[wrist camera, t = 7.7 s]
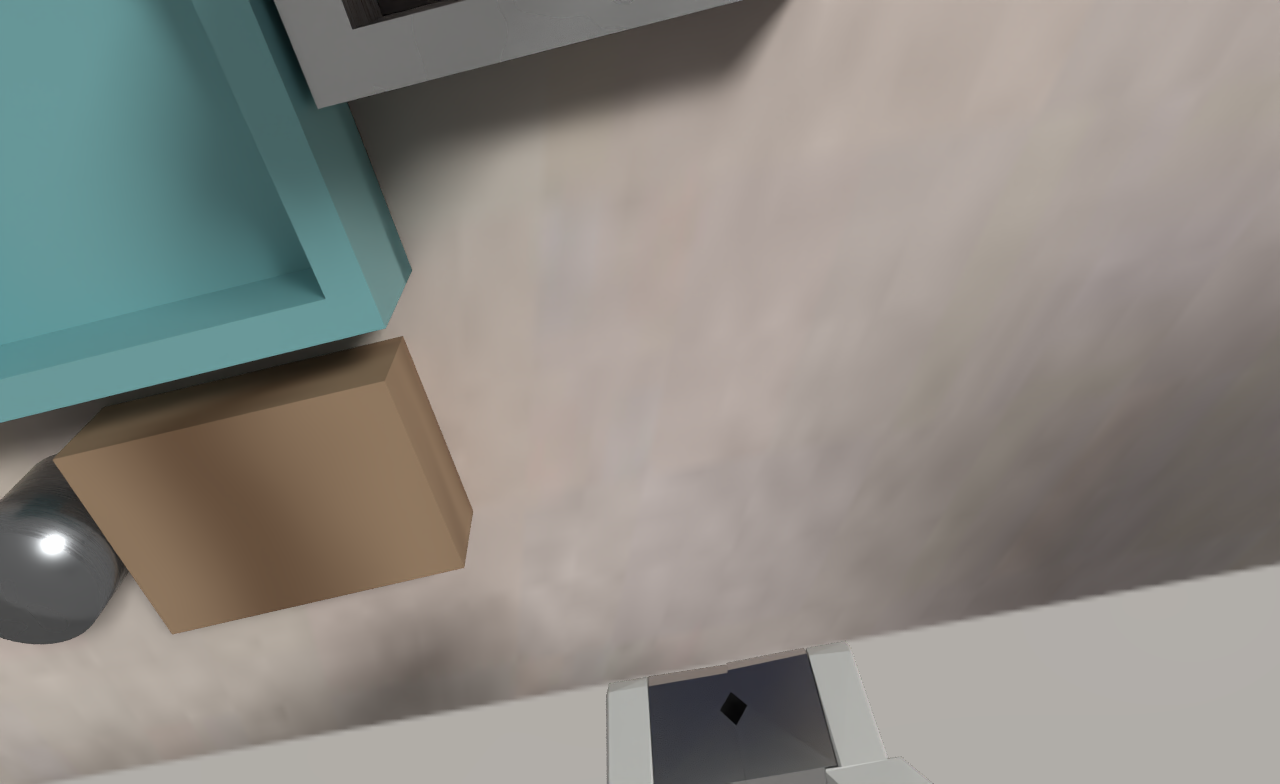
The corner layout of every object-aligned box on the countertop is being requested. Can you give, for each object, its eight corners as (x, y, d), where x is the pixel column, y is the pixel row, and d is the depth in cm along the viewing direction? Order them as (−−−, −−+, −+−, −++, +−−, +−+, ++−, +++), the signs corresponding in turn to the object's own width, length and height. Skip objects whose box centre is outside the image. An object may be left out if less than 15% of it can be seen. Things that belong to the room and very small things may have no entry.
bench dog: (119, 439, 19) (48, 519, 16) (182, 538, 20) (127, 626, 18) (-4, 468, 19) (-94, 552, 17) (68, 565, 21) (-4, 656, 18)
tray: (196, -290, 13) (102, -347, 10) (411, 270, 18) (385, 328, 15) (-370, -134, 13) (-597, -151, 11) (-12, 375, 18) (-110, 449, 15)
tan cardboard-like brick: (405, 329, 19) (384, 380, 17) (474, 503, 21) (464, 567, 19) (111, 399, 19) (52, 459, 17) (212, 563, 21) (172, 634, 19)
